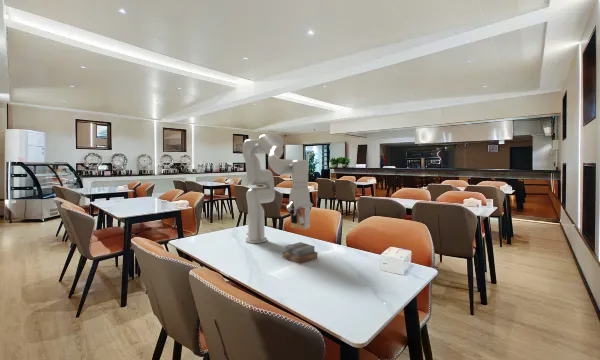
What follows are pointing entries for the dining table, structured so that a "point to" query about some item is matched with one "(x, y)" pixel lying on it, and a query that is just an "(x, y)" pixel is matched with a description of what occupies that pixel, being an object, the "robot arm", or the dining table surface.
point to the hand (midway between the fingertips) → (300, 221)
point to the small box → (302, 218)
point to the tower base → (299, 259)
